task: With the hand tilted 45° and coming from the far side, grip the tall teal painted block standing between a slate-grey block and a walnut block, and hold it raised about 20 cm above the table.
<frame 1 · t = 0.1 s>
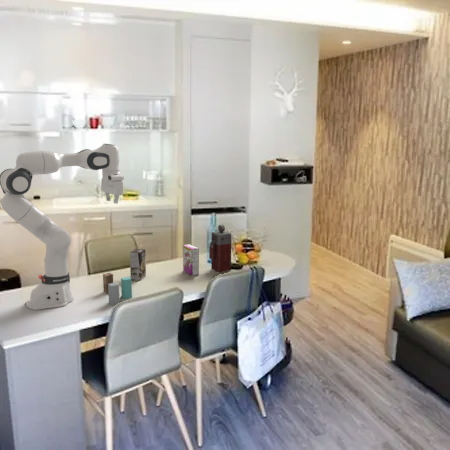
hand: (112, 202, 267), 48 cm above the countertop, tool pointing down, fingers open, 8 cm apart
teal block: (126, 296, 266), on the countertop
slate block: (114, 303, 257), on the countertop
coffee box: (138, 277, 298), on the countertop
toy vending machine: (219, 269, 314), on the countertop
candy bar box: (190, 273, 307), on the countertop
walnut block: (108, 292, 273), on the countertop
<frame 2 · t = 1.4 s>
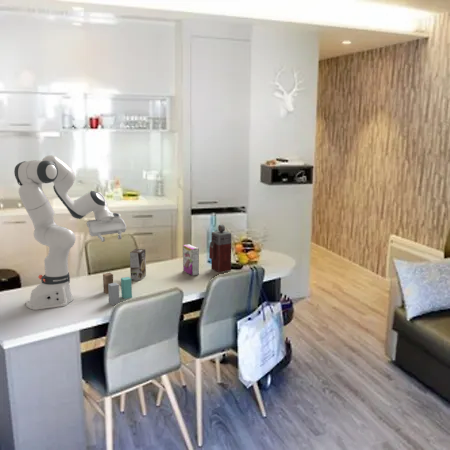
hand: (111, 239, 274), 27 cm above the countertop, tool tilted 45°, fingers open, 8 cm apart
nothing on the countertop moved.
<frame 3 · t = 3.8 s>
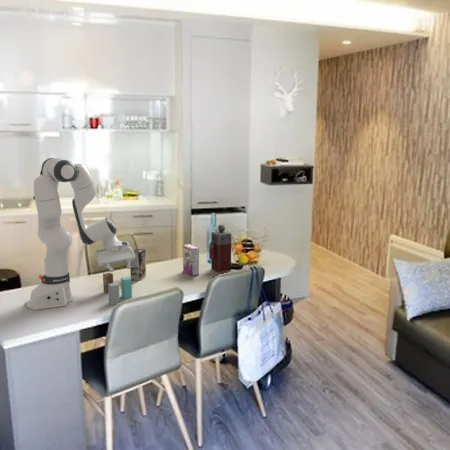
hand: (120, 269, 269), 13 cm above the countertop, tool tilted 45°, fingers open, 8 cm apart
nothing on the countertop moved.
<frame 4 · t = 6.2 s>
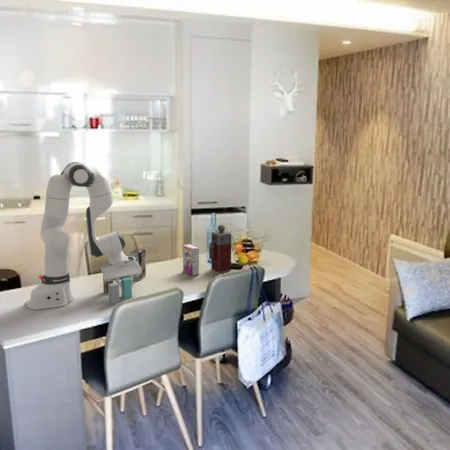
hand: (126, 285, 264), 6 cm above the countertop, tool tilted 45°, fingers closed on teal block, 4 cm apart
teal block: (126, 296, 266), on the countertop, touching gripper
everything else where it was.
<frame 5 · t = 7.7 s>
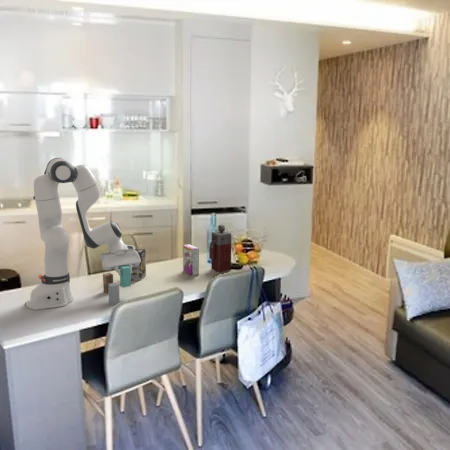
hand: (125, 274, 263), 13 cm above the countertop, tool tilted 45°, fingers closed on teal block, 4 cm apart
teal block: (125, 285, 265), point 6 cm above the countertop, touching gripper
everything else where it was.
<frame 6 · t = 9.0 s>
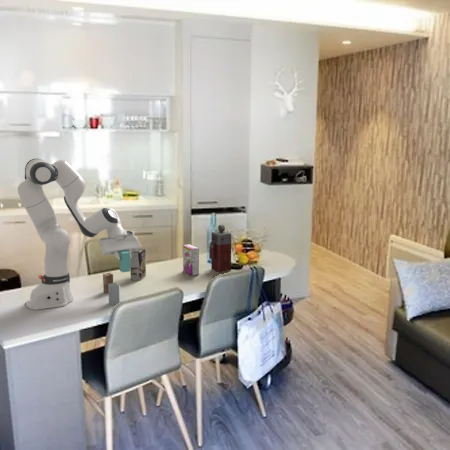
hand: (125, 259, 261), 20 cm above the countertop, tool tilted 45°, fingers closed on teal block, 4 cm apart
teal block: (124, 270, 263), point 14 cm above the countertop, touching gripper
everything else where it was.
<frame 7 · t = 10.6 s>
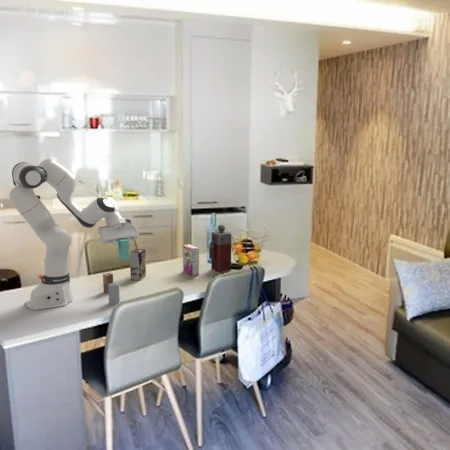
hand: (124, 247, 262), 26 cm above the countertop, tool tilted 45°, fingers closed on teal block, 4 cm apart
teal block: (123, 258, 263), point 20 cm above the countertop, touching gripper
everything else where it was.
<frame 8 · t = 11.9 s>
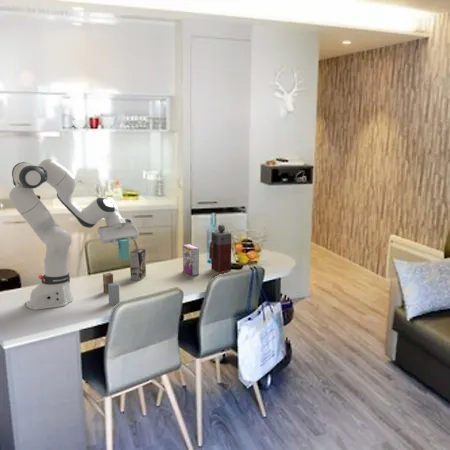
hand: (124, 247, 262), 26 cm above the countertop, tool tilted 45°, fingers closed on teal block, 4 cm apart
teal block: (123, 258, 263), point 20 cm above the countertop, touching gripper
everything else where it was.
at the end: the gripper is holding teal block; teal block point 19.9 cm above the countertop; slate block moved 0.0 cm from its start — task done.
